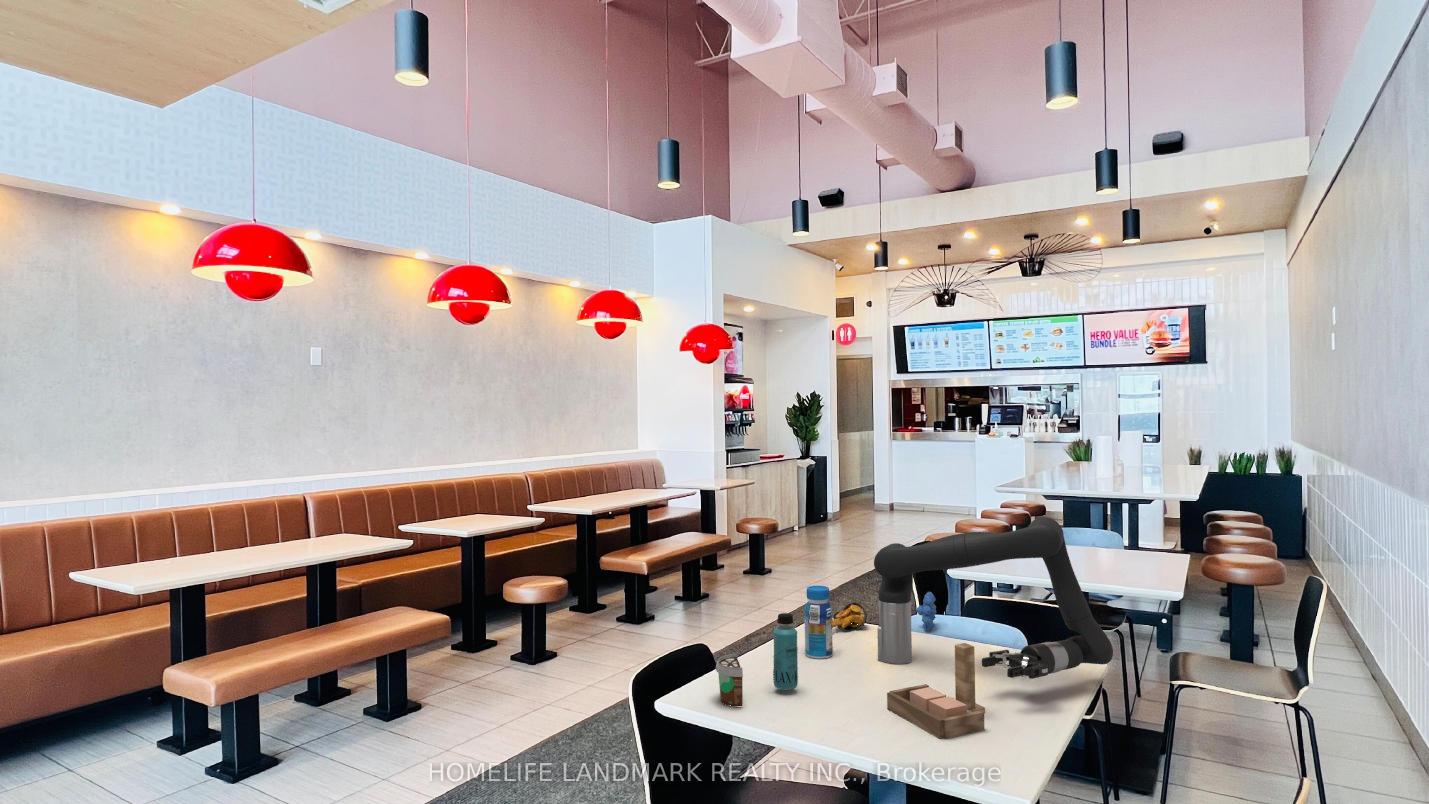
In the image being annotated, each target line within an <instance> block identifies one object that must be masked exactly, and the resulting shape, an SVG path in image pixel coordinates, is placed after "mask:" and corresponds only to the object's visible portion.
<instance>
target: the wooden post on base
mask: <svg viewBox="0 0 1429 804" xmlns="http://www.w3.org/2000/svg"><path fill="white" fill-rule="evenodd" d="M975 654H976V653H975V646H974V645H971V644H969V643H967V642H962V643H957V644H954V674H955V675H954V679H955V680H954V681H955V687H954V688H955V690H954V691H955V700H957V701H960V702H962V703H964V704H966V705H967V713H971V712H976V711H983V712H984V714H985V713H986V707H984V706H982V705H980V704H978V703H976V667H975V666H976V664H975V663H976V662H975Z"/></svg>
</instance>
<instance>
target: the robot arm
mask: <svg viewBox="0 0 1429 804" xmlns="http://www.w3.org/2000/svg"><path fill="white" fill-rule="evenodd" d="M1017 559H1018V560H1019V559H1023V560H1024V559H1042V560H1043V562H1044V564H1045V567H1046V569H1047V572H1048V575H1049V578H1050V582H1051V586H1052V589H1053V594H1054V598H1055V601H1056V604H1057V606H1058V609H1059V611H1060V614H1061V616H1062V618H1063V621H1064V624H1065V626H1066V627H1067V629H1068V630H1070V631H1072V632H1075V633H1077V634H1079V635H1073V636H1071V637H1068V638H1066V639H1065V640H1064V639H1063V640H1058V641H1053V642H1052V641H1045V642H1041V643H1035V644H1029V645H1025V646H1024V647H1023V648H1022V649H1021V651H1020V652H1014V653H1012V652H1011V653H1010V650H1009V649H1004V650H996V651H989V653H988V655H989V656H985V657H983V658H981V666H982V667H983V668H989V667H990V668H991V667H995V666H1001V667H1003V668H1004V669H1007V671H1006V673H1007V674H1006V676H1007V678H1009V679H1013V678H1018V677H1022V678H1026V677H1028V679H1030V680H1033V679H1037V678H1041V677H1046V676H1049V675H1051V674H1055V673H1059V672H1061V671H1066V670H1071V669H1073V668H1074V669H1075V668H1077V667H1079V666H1080V665H1081V664H1090V665H1092V664H1093V665H1106V664H1109V663H1110V662H1111V661H1112V659H1113V657H1114V649H1113V645H1112V642H1111V641H1110V639H1109V637H1108V635H1107V634H1106V633H1105V631H1104V629H1103V628H1102V627H1101V626H1100V624H1099V623H1098V622H1097V621H1096V620H1095V617H1093V613H1092V611H1091V609H1090V606H1089V604H1088V601H1087V598H1086V597H1085V594H1084V593H1083V590H1082V588H1081V586H1080V583H1079V581H1078V579H1077V575H1076V574H1075V571H1074V568H1073V566H1072V562H1071V560H1070V556H1069V553H1068V549H1067V545H1066V540H1065V536H1064V530H1063V528H1062V526H1061V525H1060V524H1059V522H1058V521H1057V520H1055V519H1053V518H1051V517H1049V516H1040V517H1038V518H1035V519H1033V520H1032V521H1031V522H1030V524H1029V525H1028V526H1026V527H1024V528H1020V529H1014V530H1011V531H1006V532H987V531H970V532H969V531H968V532H963V533H957V534H950V535H947V536H944V537H941V538H937V539H934V540H931V541H928V542H926V543H922V544H919V545H911V546H910V545H909V546H906V545H904V544H903V543H902V544H901V543H898V542H897V543H896V542H894V543H891V544H888V545H885V546H884V547H882V548H880V550H878V552H877V553H876V554H875V557H874V559H873V566H874V569H875V571H876V572H877V573H878V574H879V576H881V583H880V587H879V589H878V626H877V661H880V662H884V663H888V664H893V665H894V664H895V665H901V664H902V665H903V664H904V665H905V664H908V663H911V662H912V660H913V657H912V656H913V652H912V651H913V648H912V646H913V644H912V643H913V642H912V593H913V592H912V591H913V586H914V574H916V573H921V572H926V571H943V570H954V569H963V568H964V569H965V568H971V567H976V566H981V565H982V566H983V565H989V564H993V563H998V562H1003V561H1008V560H1017ZM1007 662H1008V664H1007Z"/></svg>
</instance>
